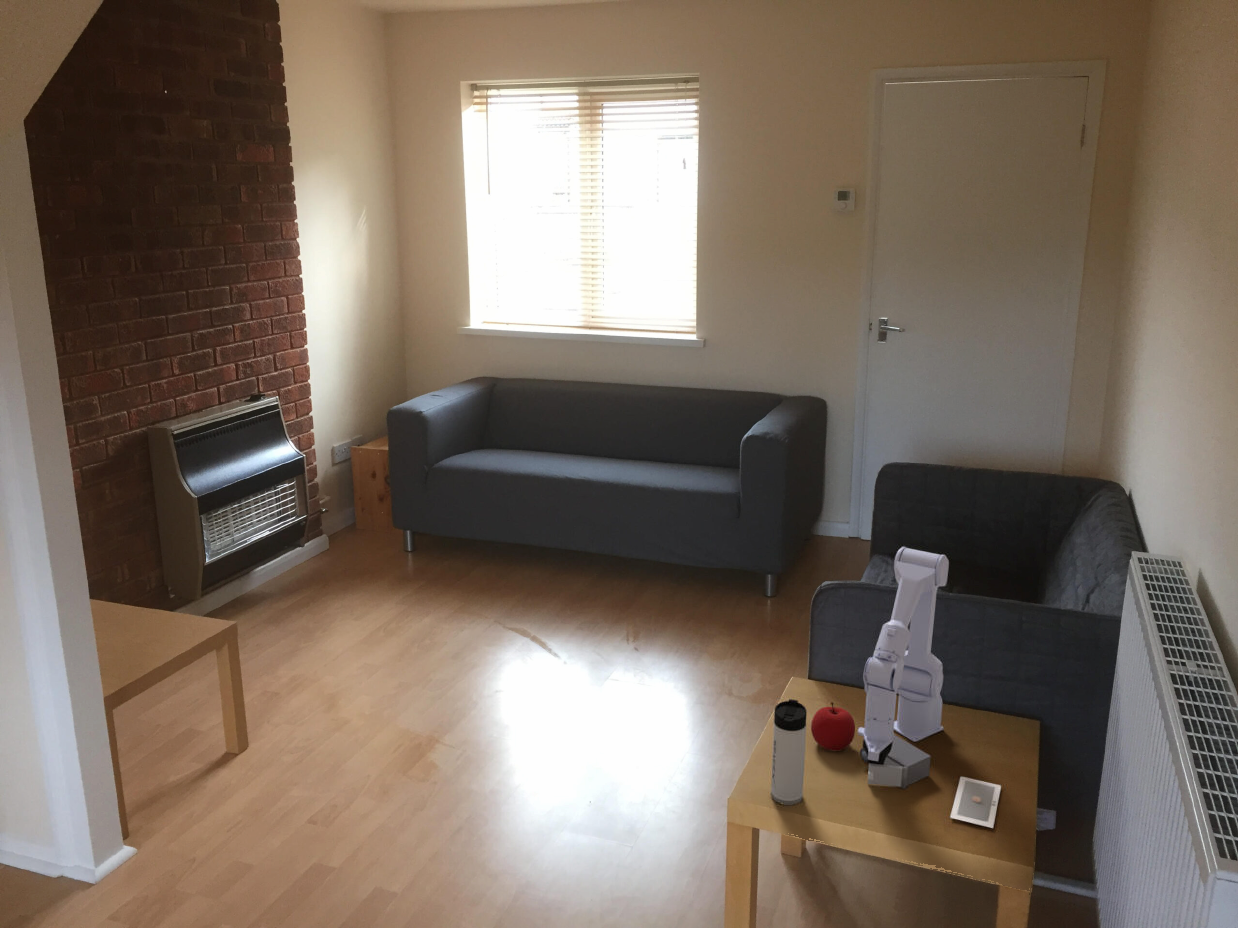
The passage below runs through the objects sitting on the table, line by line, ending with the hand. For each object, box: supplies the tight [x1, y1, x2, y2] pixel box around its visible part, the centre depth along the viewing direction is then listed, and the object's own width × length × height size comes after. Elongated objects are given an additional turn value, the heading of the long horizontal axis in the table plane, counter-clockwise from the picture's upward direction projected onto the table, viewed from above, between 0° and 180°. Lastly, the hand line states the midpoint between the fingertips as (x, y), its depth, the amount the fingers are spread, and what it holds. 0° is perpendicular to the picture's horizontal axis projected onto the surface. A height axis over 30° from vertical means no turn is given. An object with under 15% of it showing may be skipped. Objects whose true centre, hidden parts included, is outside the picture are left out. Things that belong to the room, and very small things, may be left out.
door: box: [867, 763, 907, 790], centre depth 212 cm, size 8×2×5 cm, turn 80°
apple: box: [810, 702, 856, 752], centre depth 226 cm, size 9×9×10 cm
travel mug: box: [770, 698, 808, 806], centre depth 207 cm, size 6×7×20 cm
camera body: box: [859, 734, 932, 787], centre depth 219 cm, size 9×12×5 cm
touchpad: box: [949, 776, 1002, 829], centre depth 207 cm, size 8×15×2 cm, turn 155°
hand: (875, 772), depth 214 cm, fingers closed
